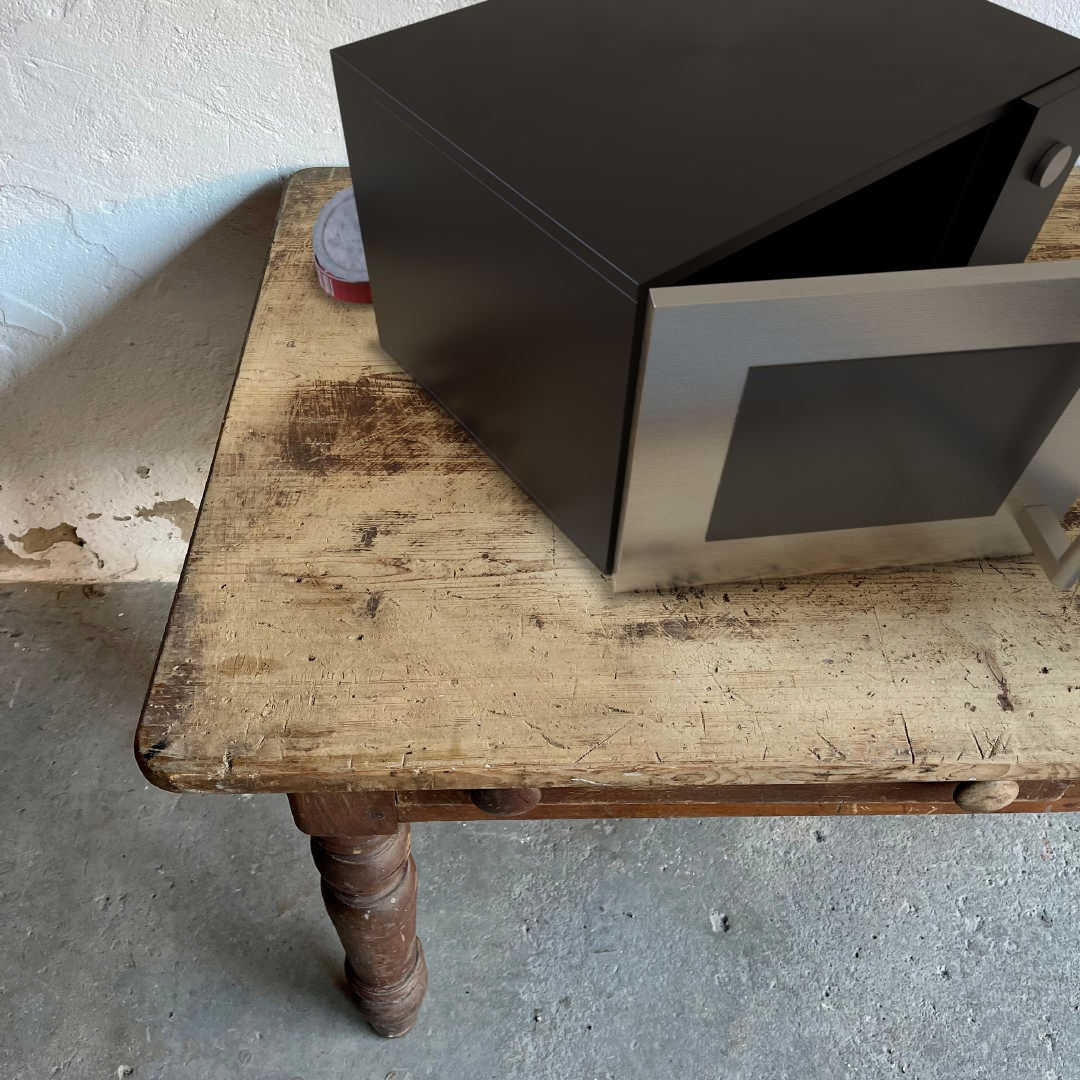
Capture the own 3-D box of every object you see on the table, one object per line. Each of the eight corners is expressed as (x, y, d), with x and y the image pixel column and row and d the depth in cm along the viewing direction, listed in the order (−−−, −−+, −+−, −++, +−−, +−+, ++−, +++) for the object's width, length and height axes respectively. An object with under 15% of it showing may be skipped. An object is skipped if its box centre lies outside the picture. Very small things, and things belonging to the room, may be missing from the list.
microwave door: (1072, 621, 68) (1331, 339, 46) (629, 665, 66) (679, 389, 44) (1026, 538, 73) (1241, 247, 51) (611, 577, 71) (648, 287, 48)
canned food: (419, 303, 98) (449, 248, 90) (348, 339, 93) (372, 284, 84) (356, 222, 98) (380, 159, 90) (281, 254, 93) (299, 190, 84)
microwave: (982, 359, 87) (1140, 63, 64) (624, 598, 70) (668, 307, 47) (719, 190, 104) (771, -90, 81) (380, 348, 87) (328, 49, 64)
